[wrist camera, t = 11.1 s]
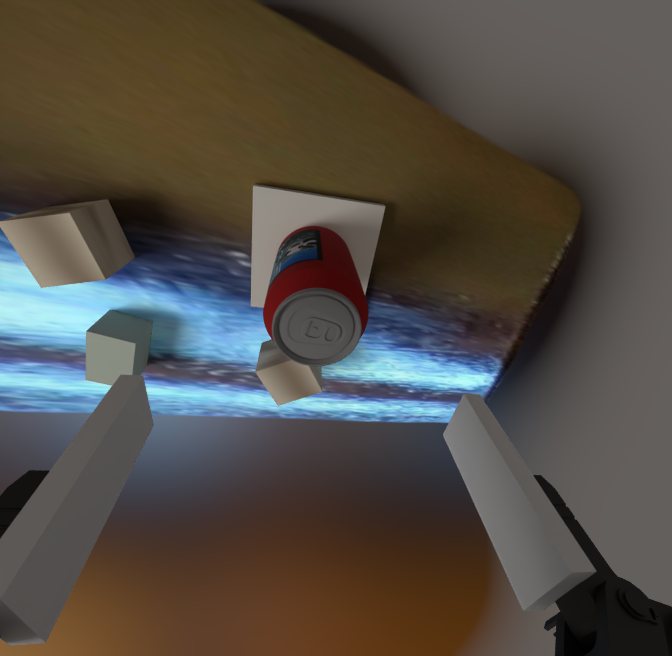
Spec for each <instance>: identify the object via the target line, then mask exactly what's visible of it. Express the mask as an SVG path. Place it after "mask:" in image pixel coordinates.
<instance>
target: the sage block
mask: <svg viewBox="0 0 672 656" xmlns="http://www.w3.org/2000/svg"><path fill="white" fill-rule="evenodd" d="M152 326H153V322H152V321H148V320H144V319H141V318H137V317H133V316H130V315H126V314H122V313H119V312H115V311H111V310H109V311H108V312H107V313H106V314H105V315H104V316H102V317H101V318H100V319H99V320H98V321H97V322H96V323H95V324H94V325H93V326H91V327H90V328H89V329H88V330H87V331H86V380H89V381H93V382H98V383H102V384H107V385H112V386H113V384H114V383H115V382H116V380H117V379H118V377H119V376H120V375H121V374H123V375H141V374H142V372H143V371H144V369H145V368H146V366H147V363H148V355H149V348H150V341H151V334H152Z"/></svg>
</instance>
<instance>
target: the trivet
mask: <svg viewBox="0 0 672 656" xmlns="http://www.w3.org/2000/svg"><path fill="white" fill-rule="evenodd" d="M385 207H386V206H385V205H384V204H379V203H373V202H367V201H360V200H354V199H348V198H341V197H335V196H329V195H322V194H316V193H310V192H303V191H297V190H291V189H284V188H278V187H272V186H265V185H259V184H254V185H253V221H252V273H251V306H253V307H263V308H264V304H265V299H266V295H267V290H268V286H269V282H270V278H271V274H272V270H273V266H274V262H275V259H276V256H277V252H278V249H279V247H280V245H281V243H282V242H283V240H284V239H285V238H286V237H287V236H288V235H289V234H290V233H292V232H293V231H295V230H297V229H299V228H302V227H306V226H321V227H325V228H328V229H330V230H332V231H334V232H335V233H337V234H338V235H339V236H340V237H341V238H342V239H343V240H344V241H345V243H346V244H347V246H348V248H349V251H350V254H351V256H352V259H353V261H354V264H355V267H356V270H357V273H358V276H359V279H360V282H361V285H362V288H363V291H364V294H365V293H366V289H367V285H368V280H369V276H370V272H371V267H372V263H373V259H374V254H375V250H376V246H377V241H378V237H379V233H380V228H381V224H382V220H383V215H384V211H385Z"/></svg>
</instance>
